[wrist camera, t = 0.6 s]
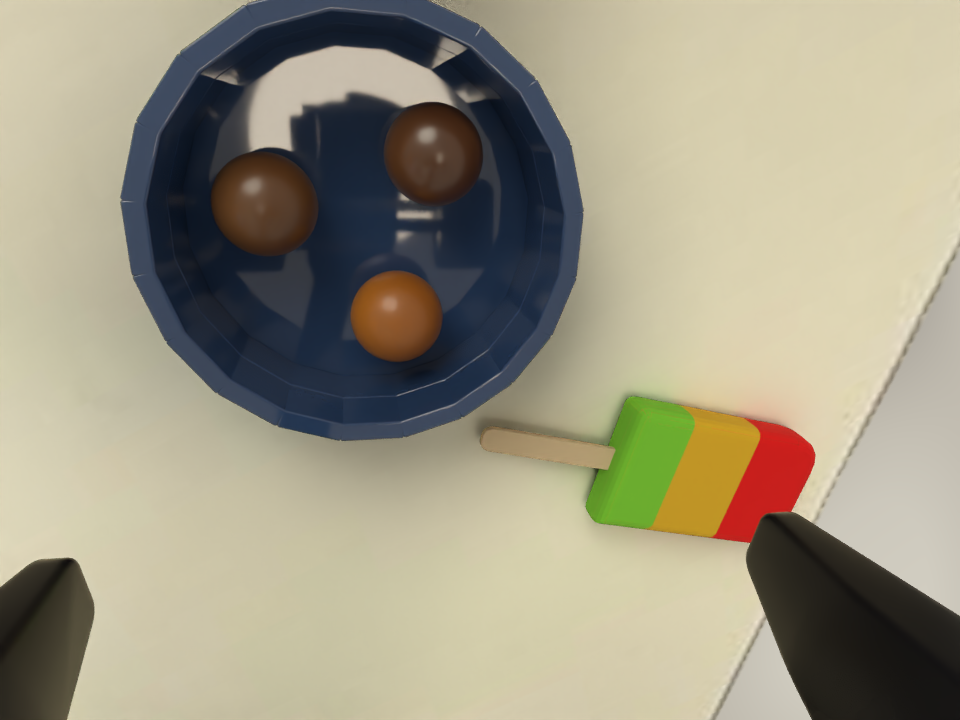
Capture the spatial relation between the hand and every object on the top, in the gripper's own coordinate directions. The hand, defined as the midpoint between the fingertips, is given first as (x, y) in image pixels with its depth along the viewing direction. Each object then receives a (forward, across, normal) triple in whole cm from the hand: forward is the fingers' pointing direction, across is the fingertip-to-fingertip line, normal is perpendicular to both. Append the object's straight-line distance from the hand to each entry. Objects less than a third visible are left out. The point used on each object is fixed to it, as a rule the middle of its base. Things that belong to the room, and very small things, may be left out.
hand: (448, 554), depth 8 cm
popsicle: (+14, -10, +10) cm, 20 cm away
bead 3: (+12, 0, +3) cm, 13 cm away
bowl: (+15, +1, 0) cm, 15 cm away
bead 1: (+13, +4, -1) cm, 14 cm away
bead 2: (+13, -1, -2) cm, 14 cm away
